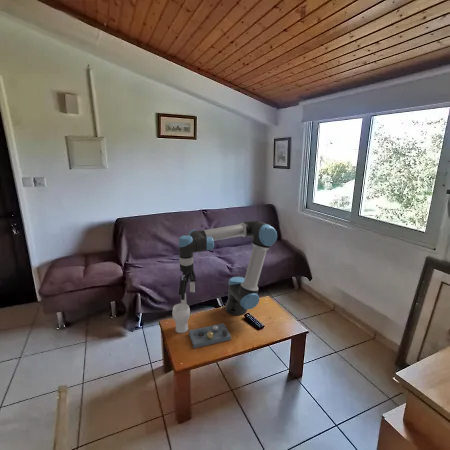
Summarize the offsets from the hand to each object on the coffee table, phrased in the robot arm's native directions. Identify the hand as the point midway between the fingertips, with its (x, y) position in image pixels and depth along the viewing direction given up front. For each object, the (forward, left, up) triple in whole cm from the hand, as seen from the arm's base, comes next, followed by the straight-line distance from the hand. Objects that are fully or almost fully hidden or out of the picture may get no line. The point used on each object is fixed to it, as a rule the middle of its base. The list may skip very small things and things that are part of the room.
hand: (188, 297), depth 159 cm
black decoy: (-19, +11, -20) cm, 30 cm away
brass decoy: (-10, +10, -20) cm, 25 cm away
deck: (-11, +6, -25) cm, 27 cm away
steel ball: (-15, +5, -20) cm, 26 cm away
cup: (+3, -6, -25) cm, 26 cm away
